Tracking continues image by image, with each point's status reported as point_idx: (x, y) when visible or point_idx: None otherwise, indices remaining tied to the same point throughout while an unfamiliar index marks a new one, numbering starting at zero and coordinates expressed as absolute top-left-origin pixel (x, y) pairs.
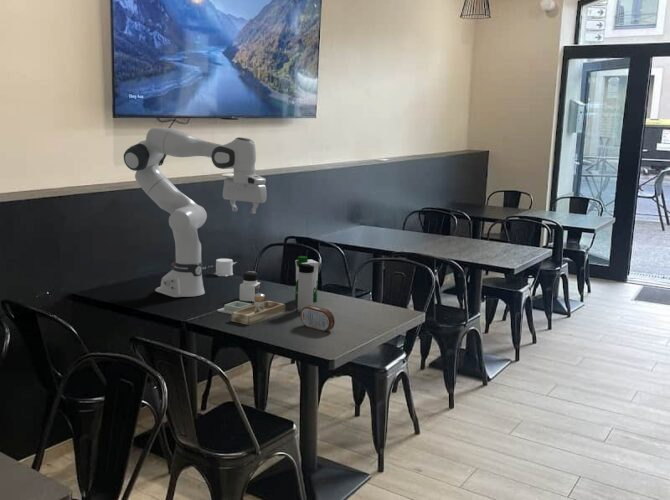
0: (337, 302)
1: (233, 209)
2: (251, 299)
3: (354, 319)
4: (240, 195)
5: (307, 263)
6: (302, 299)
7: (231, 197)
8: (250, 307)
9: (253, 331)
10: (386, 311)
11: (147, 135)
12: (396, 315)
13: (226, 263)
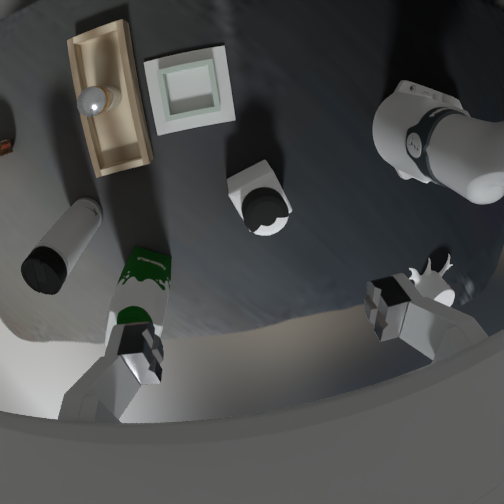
0: None
1: (395, 284)
2: (235, 175)
3: (10, 246)
4: (334, 488)
5: (107, 321)
6: (66, 211)
7: (491, 368)
8: (126, 85)
9: (43, 28)
10: (35, 316)
11: None
12: (13, 309)
13: (431, 297)
